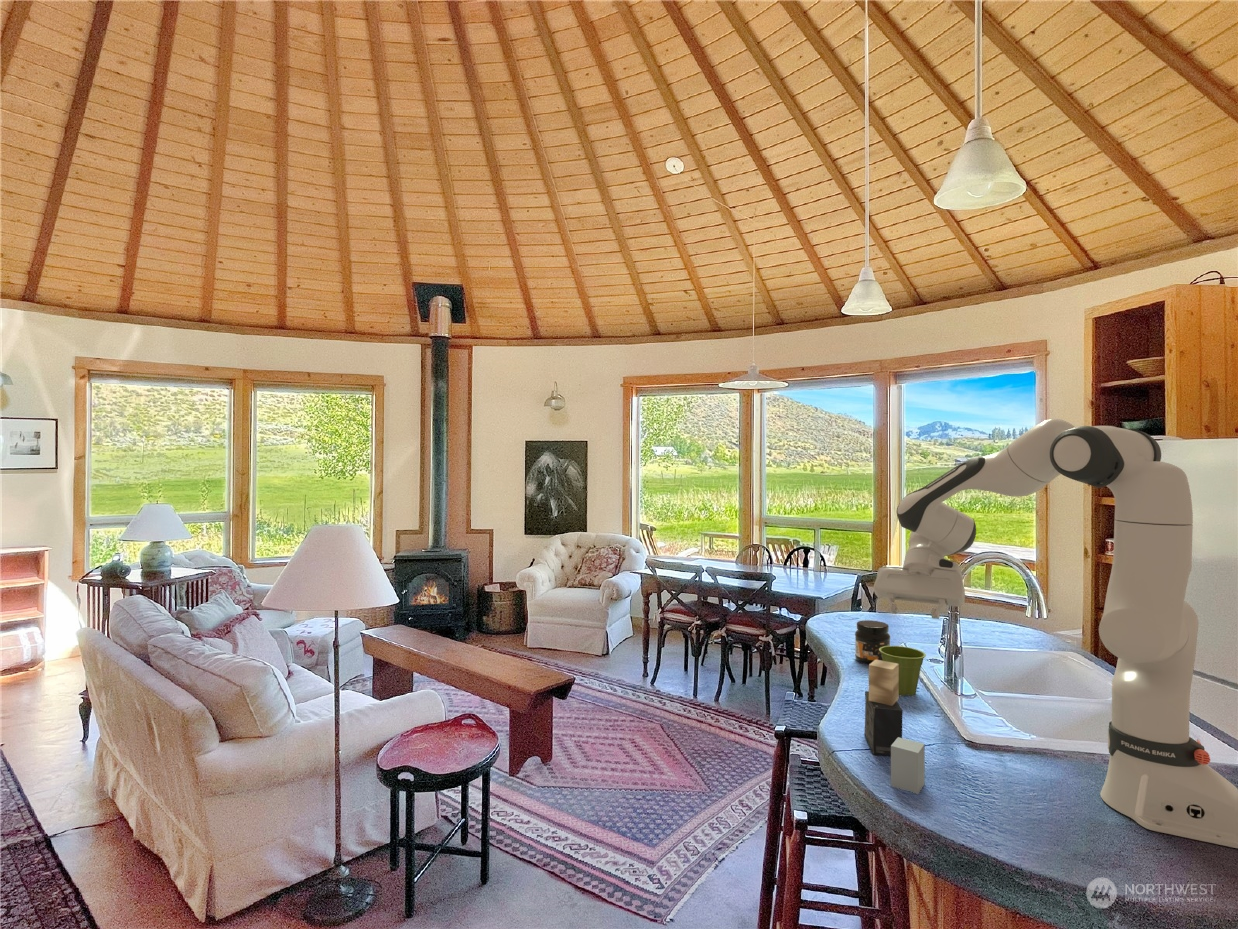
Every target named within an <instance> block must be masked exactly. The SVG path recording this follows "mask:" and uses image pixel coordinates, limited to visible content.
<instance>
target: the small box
mask: <svg viewBox="0 0 1238 929" xmlns="http://www.w3.org/2000/svg"><path fill="white" fill-rule="evenodd" d="M864 698H865V701H864V702H865V704H864V705H865V707H864V708H865V711H864V734H863V735H864V737H865V739H866V743H867V744H868V747H869V750H870V751H871V753H872V755H878V756H886V755H887V756H888V757H891V745H892V744H893V743H894V741H895V740H896V739H897V738H898V737H900V738H903V713H904V712H903V708H902V707H901V706H900V704H899V703H898V700H897V701H896V702H895V703H894V704H893V706H890V705H886V704H882V703H878V702H873V701H869V690H865V692H864Z"/></svg>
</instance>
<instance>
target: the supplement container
mask: <svg viewBox="0 0 1238 929" xmlns="http://www.w3.org/2000/svg"><path fill="white" fill-rule="evenodd" d="M889 629H890V628H889V624H888V623H886V622H883V621H878V620H870V619H867V620H866V619H864V620H859V621H857V622H856V631H855V632H854V635H855V642H854V643H855V645H854V646H855V647H854V648H855V652H854V656H855V659H856V660H857V661H858V662H859V661H860V662H859V663H861V662H862V663H861V664H865V665H868V664H871V663H872V662H873V661H874V660H881V661H883V659H882V654H881V652H880V651H879V648H881V647H884V646H891V635H890V634H889Z"/></svg>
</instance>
